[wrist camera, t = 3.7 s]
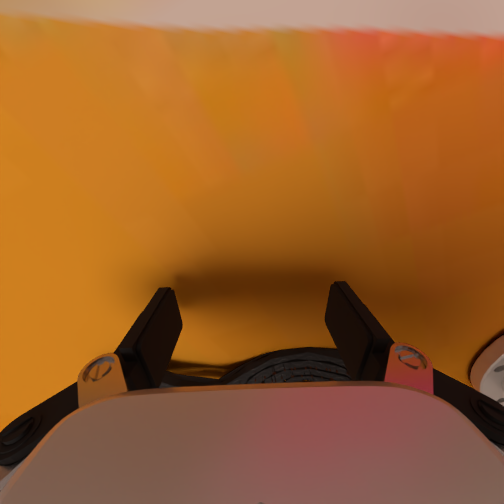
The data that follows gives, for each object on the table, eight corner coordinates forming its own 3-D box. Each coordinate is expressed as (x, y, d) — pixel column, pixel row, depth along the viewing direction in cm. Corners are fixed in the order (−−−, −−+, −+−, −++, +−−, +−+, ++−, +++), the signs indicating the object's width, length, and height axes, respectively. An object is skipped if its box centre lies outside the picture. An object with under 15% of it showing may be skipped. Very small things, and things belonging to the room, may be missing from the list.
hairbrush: (54, 359, 12) (440, 405, 13) (99, 314, 15) (402, 354, 16) (86, 424, 16) (383, 456, 16) (116, 377, 19) (362, 406, 20)
